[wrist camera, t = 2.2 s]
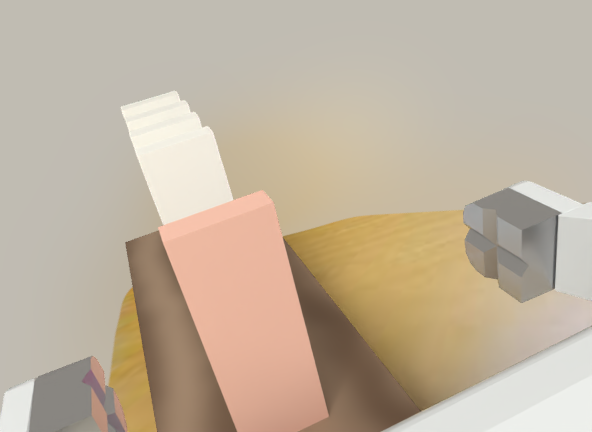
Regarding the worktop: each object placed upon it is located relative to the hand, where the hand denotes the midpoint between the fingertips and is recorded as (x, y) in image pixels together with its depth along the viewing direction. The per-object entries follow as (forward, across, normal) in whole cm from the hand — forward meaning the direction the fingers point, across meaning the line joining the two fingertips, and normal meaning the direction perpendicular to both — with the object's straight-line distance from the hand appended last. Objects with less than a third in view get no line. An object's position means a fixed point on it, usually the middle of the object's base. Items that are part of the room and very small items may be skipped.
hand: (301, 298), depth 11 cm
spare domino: (+12, 0, -17) cm, 21 cm away
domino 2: (+25, 0, -17) cm, 30 cm away
